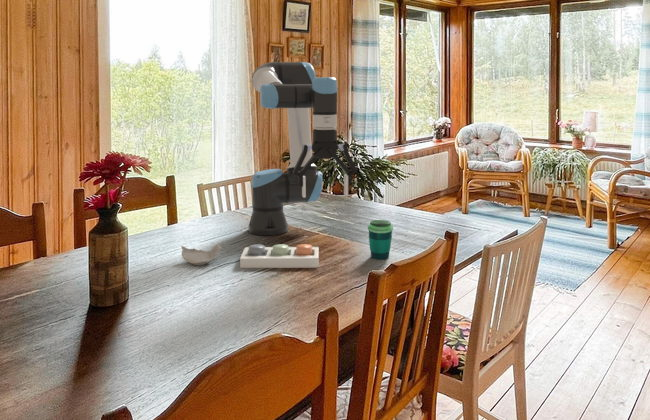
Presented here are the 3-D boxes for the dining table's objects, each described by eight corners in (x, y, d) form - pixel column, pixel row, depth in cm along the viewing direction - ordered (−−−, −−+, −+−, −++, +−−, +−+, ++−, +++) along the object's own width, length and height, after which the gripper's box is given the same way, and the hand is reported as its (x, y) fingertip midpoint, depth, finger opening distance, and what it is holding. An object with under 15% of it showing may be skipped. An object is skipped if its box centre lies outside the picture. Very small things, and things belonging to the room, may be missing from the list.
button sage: (272, 258, 172) (271, 248, 172) (273, 253, 177) (273, 244, 176) (288, 257, 172) (287, 248, 172) (289, 253, 177) (288, 244, 177)
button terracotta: (296, 257, 172) (296, 248, 172) (296, 253, 177) (296, 244, 177) (312, 257, 172) (312, 248, 172) (312, 253, 177) (312, 244, 177)
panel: (240, 267, 169) (240, 258, 169) (245, 256, 181) (245, 247, 180) (318, 267, 169) (318, 258, 169) (318, 255, 181) (318, 246, 180)
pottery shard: (177, 262, 175) (176, 247, 174) (207, 255, 183) (206, 240, 181) (195, 269, 168) (194, 254, 167) (225, 261, 175) (225, 246, 174)
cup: (394, 255, 181) (395, 220, 178) (389, 263, 173) (390, 226, 171) (370, 253, 184) (371, 218, 181) (364, 260, 176) (364, 224, 173)
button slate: (248, 258, 172) (247, 248, 172) (250, 253, 177) (249, 244, 176) (264, 258, 172) (263, 248, 172) (265, 253, 177) (265, 244, 176)
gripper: (286, 130, 164) (287, 199, 169) (367, 128, 169) (366, 196, 174) (283, 128, 172) (284, 195, 176) (361, 127, 176) (360, 192, 181)
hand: (325, 196), depth 175 cm, fingers open, 13 cm apart
